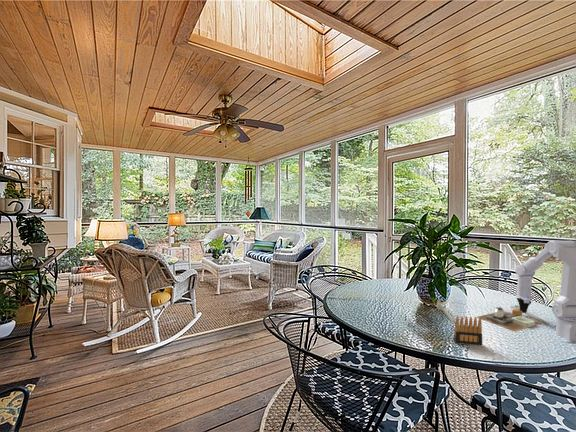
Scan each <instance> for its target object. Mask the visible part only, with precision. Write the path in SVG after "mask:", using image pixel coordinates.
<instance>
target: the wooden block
mask: <svg viewBox="0 0 576 432" xmlns="http://www.w3.org/2000/svg"><path fill="white" fill-rule="evenodd" d="M511 310H512V312H511V313H512V314H508V315H504V318H509V317H513V316H515V317H517V316H521V317H523V313H522V311H521V310H518V309H514V308H513V309H511Z"/></svg>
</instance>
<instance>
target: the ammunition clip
mask: <svg viewBox="0 0 576 432" xmlns="http://www.w3.org/2000/svg"><path fill="white" fill-rule="evenodd" d="M477 319H478V320H477ZM453 343H455V344H465V345H473V346H483V327H482V319H481V318H480V317H479V318H477V316H474V319H473V318H472V316H470V317H469V318H468V316H465V318H464V316H463V315H461V316H460V317H459V315H456V317H455V324H454V333H453Z"/></svg>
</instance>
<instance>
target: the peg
mask: <svg viewBox="0 0 576 432" xmlns="http://www.w3.org/2000/svg"><path fill="white" fill-rule="evenodd" d="M504 311H505V310H504V309H503V307H501V306H497V307H495V308H494V313H495V318H496V319H498V320H504Z"/></svg>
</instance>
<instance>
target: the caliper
mask: <svg viewBox="0 0 576 432" xmlns="http://www.w3.org/2000/svg"><path fill="white" fill-rule="evenodd" d="M436 309H437V310H438V311H441V312H443V313H444V314H445V316H447V318H448V319H449V321H450V322H451V323H452V324H453V325H455V323H456V319H454V318H453V316H452V315H451V314H450V313H449V312H448V310H447V308H446V307H445V306H444V304H443V303H442V300H441V299H438V300H437V302H436Z"/></svg>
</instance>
